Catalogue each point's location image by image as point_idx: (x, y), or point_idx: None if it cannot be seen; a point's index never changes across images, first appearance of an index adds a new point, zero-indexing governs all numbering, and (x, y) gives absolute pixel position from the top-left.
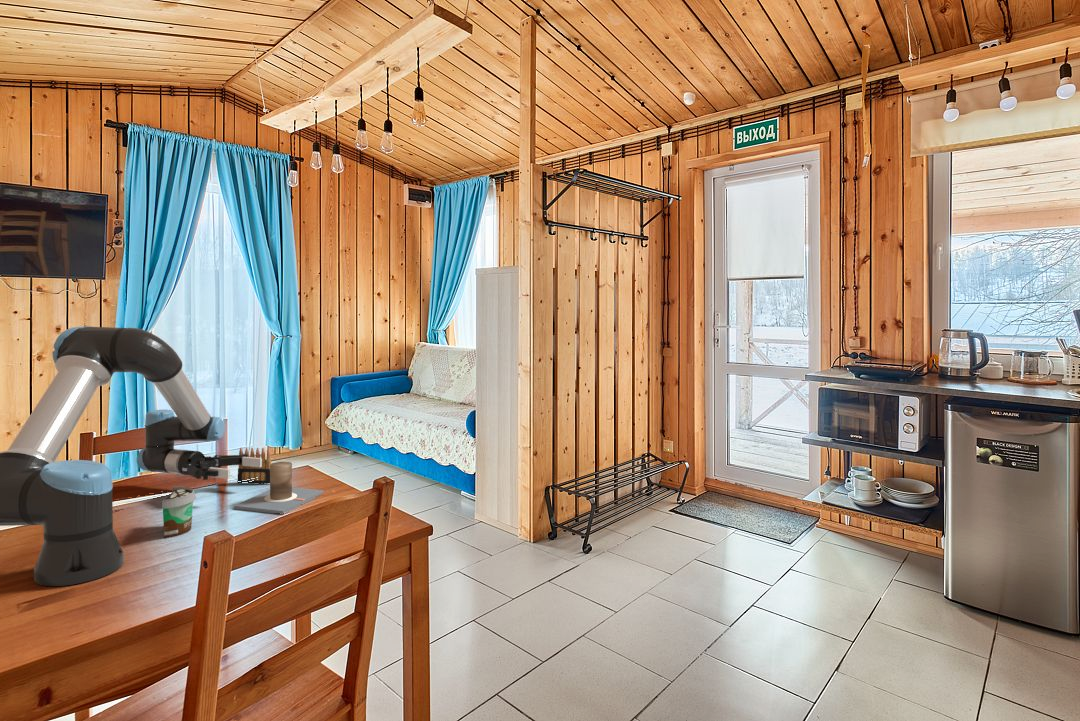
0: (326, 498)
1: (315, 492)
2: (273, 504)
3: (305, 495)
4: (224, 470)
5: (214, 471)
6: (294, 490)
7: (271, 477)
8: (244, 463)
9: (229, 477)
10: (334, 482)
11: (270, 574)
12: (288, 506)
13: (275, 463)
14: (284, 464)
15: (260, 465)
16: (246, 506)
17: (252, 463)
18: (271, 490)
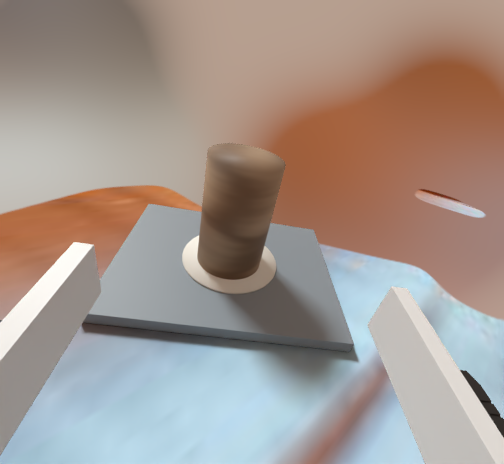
0: (188, 203)
1: (170, 212)
2: (287, 255)
3: (198, 222)
4: (417, 314)
5: (471, 384)
6: (153, 251)
7: (273, 208)
8: (5, 424)
9: (372, 322)
10: (26, 209)
11: (448, 203)
12: (284, 229)
13: (244, 165)
14: (246, 152)
15: (97, 282)
16: (335, 304)
17: (63, 328)
18: (263, 247)
